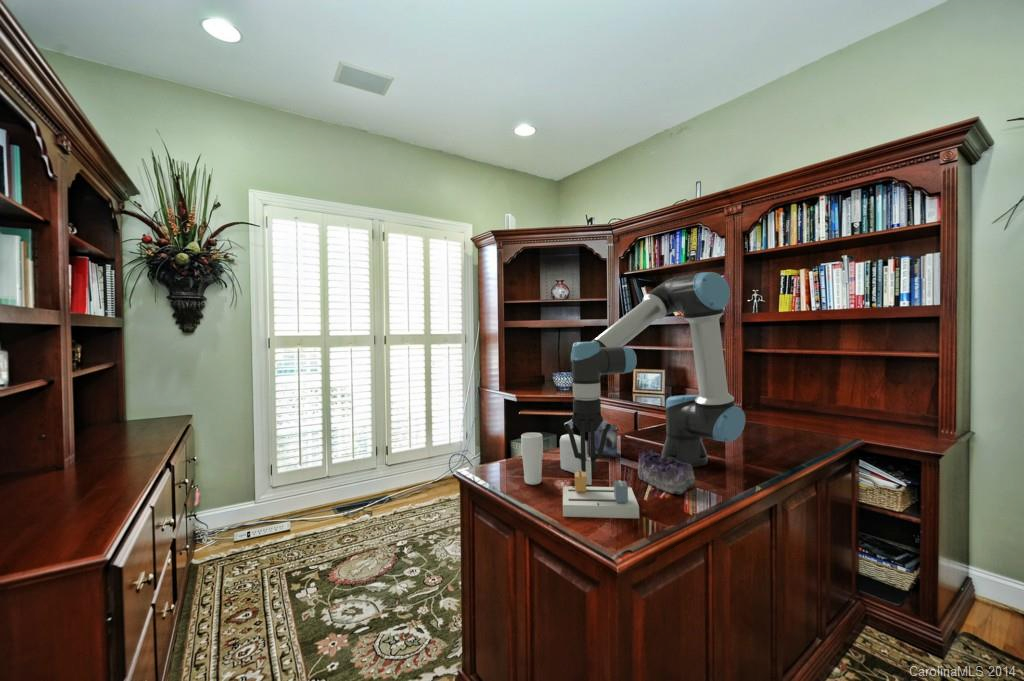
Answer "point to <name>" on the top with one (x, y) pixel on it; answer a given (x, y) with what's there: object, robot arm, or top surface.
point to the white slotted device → (570, 454)
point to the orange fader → (580, 481)
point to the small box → (610, 442)
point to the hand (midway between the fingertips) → (588, 482)
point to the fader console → (598, 503)
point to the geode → (665, 473)
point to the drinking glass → (532, 457)
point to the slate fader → (620, 491)
